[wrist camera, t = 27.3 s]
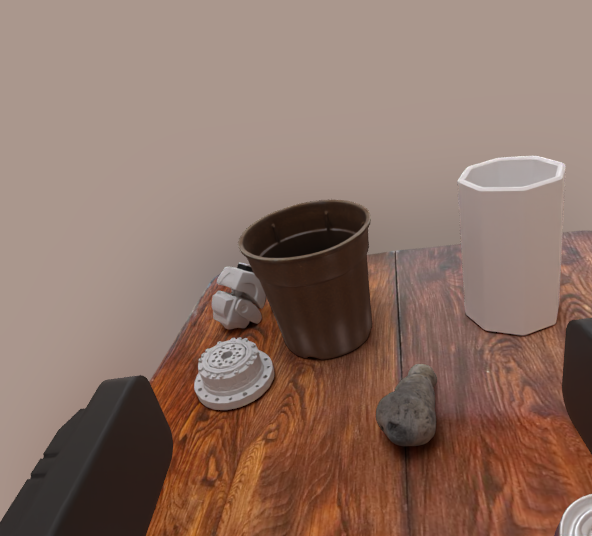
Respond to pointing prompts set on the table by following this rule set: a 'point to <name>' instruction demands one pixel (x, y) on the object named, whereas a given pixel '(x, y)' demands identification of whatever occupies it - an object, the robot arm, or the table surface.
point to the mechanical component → (233, 374)
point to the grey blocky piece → (238, 297)
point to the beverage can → (577, 518)
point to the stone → (410, 408)
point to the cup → (512, 242)
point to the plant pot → (314, 274)
